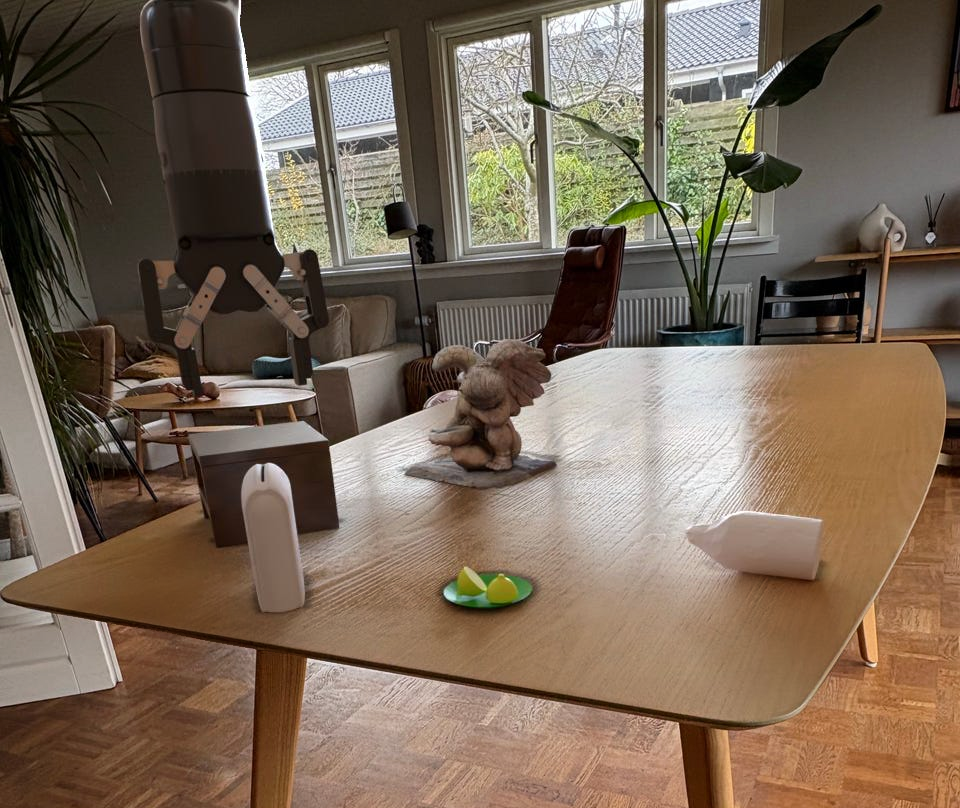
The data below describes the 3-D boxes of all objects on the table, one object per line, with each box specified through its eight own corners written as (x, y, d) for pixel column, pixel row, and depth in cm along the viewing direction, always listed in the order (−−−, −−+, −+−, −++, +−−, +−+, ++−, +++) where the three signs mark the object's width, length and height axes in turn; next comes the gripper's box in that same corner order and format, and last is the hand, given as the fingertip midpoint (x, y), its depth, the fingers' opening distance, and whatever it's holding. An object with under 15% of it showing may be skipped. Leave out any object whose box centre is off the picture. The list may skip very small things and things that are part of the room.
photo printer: (260, 581, 82) (239, 456, 77) (304, 576, 83) (286, 452, 78) (258, 622, 73) (234, 482, 68) (308, 615, 74) (287, 477, 68)
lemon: (442, 615, 72) (440, 585, 71) (445, 582, 79) (443, 554, 78) (534, 611, 72) (534, 580, 71) (529, 578, 79) (528, 550, 78)
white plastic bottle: (691, 553, 84) (695, 498, 81) (819, 567, 78) (827, 509, 76) (675, 573, 79) (678, 515, 76) (810, 589, 74) (818, 528, 71)
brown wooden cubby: (216, 547, 93) (198, 456, 88) (203, 516, 104) (187, 434, 100) (339, 527, 97) (328, 439, 93) (314, 500, 109) (303, 420, 105)
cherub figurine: (394, 476, 118) (381, 343, 111) (471, 451, 131) (465, 330, 124) (494, 491, 108) (488, 346, 101) (568, 462, 121) (567, 332, 114)
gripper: (297, 172, 69) (323, 376, 76) (113, 176, 64) (159, 394, 71) (317, 162, 62) (344, 386, 69) (114, 166, 58) (164, 406, 65)
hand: (250, 390), depth 70 cm, fingers open, 8 cm apart
